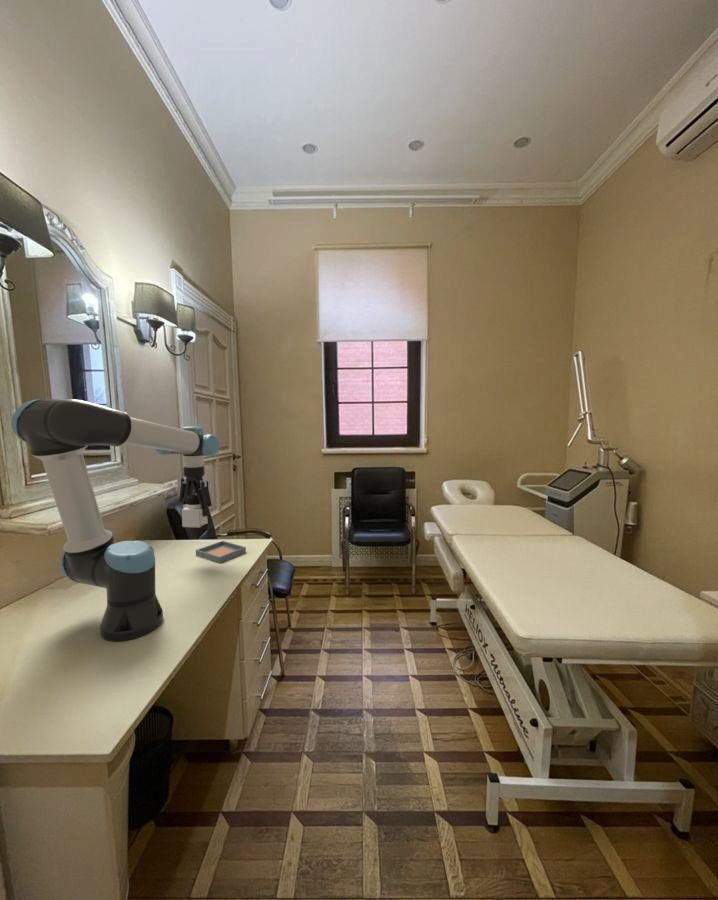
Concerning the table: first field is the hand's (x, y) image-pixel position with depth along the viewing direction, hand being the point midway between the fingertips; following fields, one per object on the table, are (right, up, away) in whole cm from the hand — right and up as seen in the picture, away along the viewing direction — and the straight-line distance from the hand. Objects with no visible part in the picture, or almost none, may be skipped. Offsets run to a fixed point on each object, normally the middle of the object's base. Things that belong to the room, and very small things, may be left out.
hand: (195, 521), depth 142 cm
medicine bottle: (0, -1, 0) cm, 1 cm away
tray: (+5, -17, +14) cm, 23 cm away
